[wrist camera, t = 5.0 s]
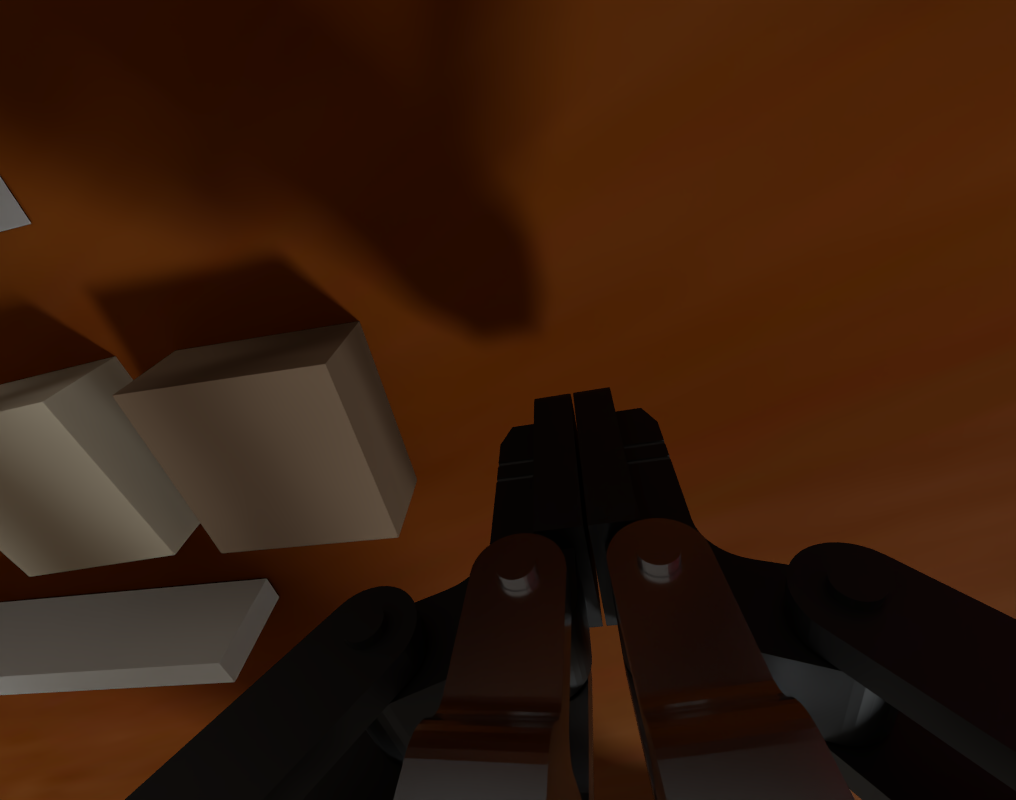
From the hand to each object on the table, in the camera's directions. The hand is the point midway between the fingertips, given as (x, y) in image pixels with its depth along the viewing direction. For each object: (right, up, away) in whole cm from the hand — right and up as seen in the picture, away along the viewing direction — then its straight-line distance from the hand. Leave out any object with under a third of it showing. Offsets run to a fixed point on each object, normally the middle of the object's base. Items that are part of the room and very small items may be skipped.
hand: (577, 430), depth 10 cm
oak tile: (-13, -1, +5) cm, 14 cm away
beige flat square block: (-7, 0, +4) cm, 8 cm away
